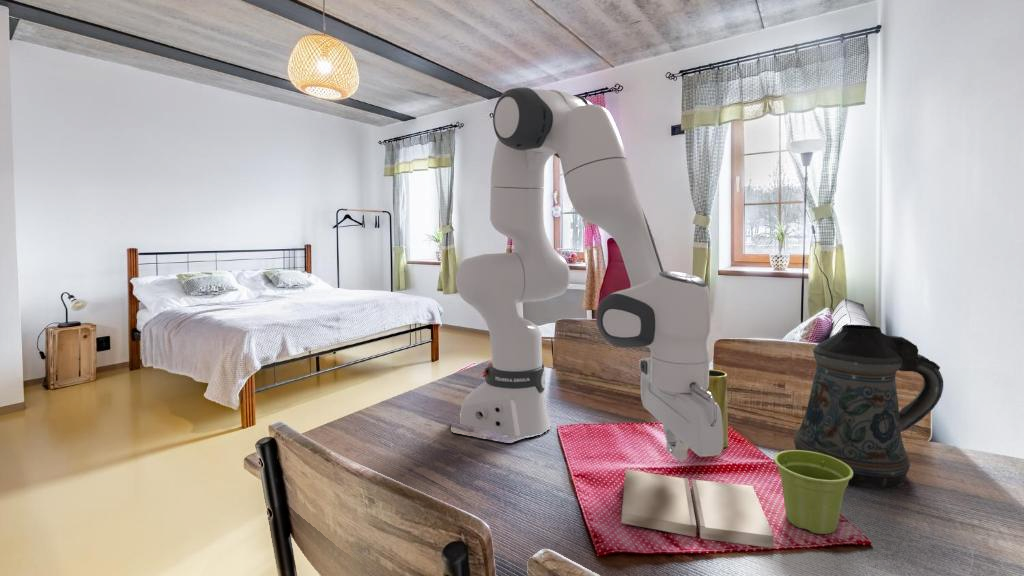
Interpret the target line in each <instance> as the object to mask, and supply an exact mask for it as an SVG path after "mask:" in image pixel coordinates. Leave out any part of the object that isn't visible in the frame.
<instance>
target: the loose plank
mask: <svg viewBox="0 0 1024 576" xmlns="http://www.w3.org/2000/svg"><path fill="white" fill-rule="evenodd" d="M624 474H625V475H624V486H623V495H622V496H623V497H622V499H623V500H622V509H621V520H620V521H621V524H624V525H629V526H637V527H642V528H647V529H651V530H657V531H662V532H667V533H673V534H678V535H683V536H689V537H694V538H696V536H697V527H698V526H697V519H696V516H695V515H696V513H695V508H694V502H693V496H692V490H691V487H690V482H689V478H687V477H684V478H683V477H676V476H670V475H664V474H657V473H650V472H647V471H646V472H645V471H641V470H640V471H638V470H633V469H625V472H624Z"/></svg>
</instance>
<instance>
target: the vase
mask: <svg viewBox="0 0 1024 576" xmlns="http://www.w3.org/2000/svg"><path fill="white" fill-rule="evenodd" d="M706 391H709V392H710V393H711V394H712V395H713V399H714V401H715V402H716V403H717V404H718V406H719V408H720V410H721V414H722V423H723V449H724V448H726V447H728V446H729V443H730V442H729V423H728V421H729V420H728V374H727V373H726V372H725V371H722V370H718V369H709V386H708V388H707V389H706Z"/></svg>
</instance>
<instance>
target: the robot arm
mask: <svg viewBox="0 0 1024 576" xmlns="http://www.w3.org/2000/svg"><path fill="white" fill-rule="evenodd" d="M495 103H496V104H495V106H494V109H493V110H494V111H493V114H492V115H493V116H492V124H493V125H492V126H493V129H494V133H495V136H496V138H497V140H496V143H495V147H494V151H493V152H494V153H493V157H492V164H491V172H490V174H491V175H490V197H489V199H490V205H489V206H490V207H489V211H490V212H489V216H490V217H489V219H490V223H491V225H492V227H493V228H494V229H495V230H496V231H497V232H498V233H500V235H501V234H502V235H503V236H505V237H507V238H509V239H511V240H512V243H513V249H514V250H513V252H505V253H504V252H501V253H483V254H480V255H475V256H471V257H468V258H465V259H463V261H462V262H461V263H460V264H459V266H458V268H457V271H456V273H455V285H456V289H457V293H458V294H459V296H460V297H461V298H462V299H463V301H464V302H465V303H467V304H468V305H470V306H471V307H473V308H474V310H476V311H477V312H478V313H479V315H480V316H481V317H482V318H483V320H484V322H485V324H486V326H487V329H488V332H489V339H490V347H491V355H492V356H491V361H490V362H489V363H488V364H487V367H485V368H484V371H482V378H484V379H485V381H483V382H482V383H481V384H480V385H478V386H477V387H475V389H473V391H471V392H470V393H469V394H468V395H466V397H465V398H464V399H463V401H462V404H461V407H460V413H459V415H460V424H463V425H468V426H473V427H477V428H483V429H487V430H491V431H494V432H497V433H500V435H508V437H506V438H502V437H499V438H502V439H506V440H513V439H517V438H520V437H524V436H532V435H536V434H540V433H543V432H545V431H547V430H548V429H549V428H550V426H551V427H552V423H551V420H550V416H549V414H548V413H549V412H548V408H547V404H546V397H545V389H546V371H545V364H544V363H543V345H542V344H543V343H542V341H543V340H542V332H541V329H540V328H539V327H538V325H537V324H535V323H533V321H531V320H529V319H527V318H524V317H522V316H520V315H519V312H518V309H517V304H518V303H521V304H522V303H532V302H543V301H547V300H550V299H554V298H557V297H559V296H560V297H561V296H562V295H564V294H565V293H566V291H567V290H568V288H569V286H570V281H571V269H570V265H569V264H568V262H567V261H566V259H565V258H564V257H563V256H562V255H561V254H560V252H557V251H556V249H555V248H554V247H553V245H552V244H551V242H550V240H549V238H548V236H547V232H546V228H545V223H544V222H545V220H544V193H545V192H544V189H545V187H544V186H545V168H546V167H545V166H546V164H547V162H548V161H549V159H550V158H551V157H552V156H553V155H554V156H555V157H557V158H558V159H559V160H560V164H561V169H562V174H563V178H564V183H565V188H566V192H567V195H568V198H569V201H570V203H571V205H572V207H573V209H574V211H575V212H576V214H578V215H579V217H581V218H582V219H584V220H585V221H587V222H588V223H591V224H593V225H595V226H597V227H598V228H600V229H602V230H603V231H604V232H605V233H607V234H608V235H610V237H611V238H612V239H613V240H614V241H615V243H616V245H617V246H618V248H619V253H620V254H621V257H622V260H623V263H624V267H625V270H626V274H627V275H628V276H627V277H628V279H629V283H630V287H629V288H625V289H621V290H618V291H617V290H616V291H614V292H612V293H610V294H608V295H606V296H605V297H603V298H602V299H601V301H600V302H599V303H598V306H597V309H596V314H595V320H596V321H595V322H596V326H597V329H598V331H599V334H600V335H601V337H602V338H603V339H604V340H605V342H607V343H608V344H609V345H612V346H614V347H617V348H642V347H645V348H649V350H650V357H645V358H643V357H642V358H640V359H639V360H638V369H639V371H640V372H641V373H640V399H641V402H642V406H643V408H644V409H646V411H647V412H649V414H650V415H652V416H653V417H654V418H655V419H656V420H658V421H659V422H660V423H661V424H662V429H663V432H664V433H663V434H664V437H665V441H666V447H665V448H666V450H667V452H668V453H670V454H671V455H672V456H673V458H674V459H675V460H677V462H679V461H686V460H687V459H688V450H689V449H690V450H691V451H692V452H693V453H695V454H696V455H697V456H698V457H712V456H719V455H720V454H721V453H722V452H723V450H724V448H723V423H722V414H721V410H720V408H719V406H718V404H717V403H716V402H715V401H714V399H713V395H712V394H711V393H710V392H709V391H706V389H707V388H708V386H709V370H710V362H711V361H710V358H711V357H710V351H709V346H708V342H709V337H710V335H711V332H712V303H711V295H710V290H709V286H708V285H707V283H706V281H705V280H704V279H702V278H701V277H699V276H697V275H695V274H692V273H687V272H682V271H674V270H666V271H665V270H664V268H663V266H662V265H663V264H662V262H661V259H660V256H659V253H658V249H657V246H656V243H655V240H654V237H653V234H652V231H651V228H650V225H649V223H648V219H647V217H646V214H645V213H644V210H643V208H642V205H641V202H640V200H639V197H638V195H637V191H636V188H635V185H634V182H633V177H632V173H631V169H630V166H629V162H628V158H627V154H626V150H625V147H624V143H623V141H622V137H621V135H620V133H619V132H620V131H619V130H618V128H617V126H616V122H615V121H614V118H613V117H612V114H611V113H610V111H609V110H607V109H608V108H607V109H606V108H605V107H604V106H602V105H600V104H595V103H594V104H593V103H592V102H591V101H590V100H588V99H586V98H585V97H583V96H581V95H576V94H571V93H569V92H564V91H561V90H555V89H537V88H536V89H535V88H534V89H532V88H529V87H524V86H523V87H515V88H510V89H508V90H506V91H504V92H502V94H501V95H500V97H498V99H497V102H495ZM550 429H551V428H550ZM501 433H502V434H501ZM498 436H499V435H498Z"/></svg>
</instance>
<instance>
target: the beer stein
mask: <svg viewBox="0 0 1024 576" xmlns="http://www.w3.org/2000/svg"><path fill="white" fill-rule="evenodd" d="M813 357H814V359H815V361H816V367H815V371H814V376H813V379H812V385H811V390H810V394H809V397H808V402H807V406H806V409H805V412H804V415H803V418H802V421H801V423H800V426H799V428H798V429H797V431H796V433H795V434H794V438H793V439H794V440H793V442H794V447H795V450H803V451H811V452H817V453H821V454H824V455H828V456H831V457H834V458H836V459H838V460H840V461H842V462H844V463H846V464H847V465H848V466H849V467H850V468H851V469H852V471H853V477H852V478H851V479H850V480H849V482H848V485H847V486H849V487H853V488H859V489H860V488H861V489H871V490H888V489H887V488H890V489H894V488H893V487H896V488H898V487H900V486H901V485H900V484H902V483H904V482H905V483H906V479H907V474H908V472H909V470H910V468H911V460H910V457H909V455H908V453H907V451H906V448H905V446H904V444H903V443H904V442H903V438H902V432H905V431H906V430H909V429H910V428H911V427H913V426H914V425H916V424H917V423H919V422H920V421H922V419H924V418H925V417H926V416H927V415H928V414H929V413H930V412H932V410H933V409H935V407H936V406H937V404H938V403H939V401H940V399H941V398H942V396H943V395H942V394H943V391H944V379H943V376H942V374H941V372H940V369H941V366H939V365H938V364H937V362H935V361H932V360H931V359H929V358H927V357H925V356H924V355H921V354H919V349H918V346H917V345H916V344H915V343H913V342H912V341H910V340H909V339H906V338H905V337H903V336H897V335H887V334H885V333H883V332H882V329H881V327H878V326H873V325H864V324H844V325H843V326H842V327H841V330H840V331H838V332H837V333H835V334H834V335H832V336H830V337H828V338H827V339H824V340H822V341H821V342H819V343H818V344H817V345H816V346H815V347H814V348H813ZM898 371H899V372H914V373H918V374H919V375H920V376H921V377H922V378H923V385H922V387H921V389H920V391H919V393H918V394H917V395H916V397H914V398H913V399H912V400H911V401H910V402H909V403H908V404H906V405H905V406H903V407H902V408H901V409H900V408H899V398H898V397H899V396H898V390H897V389H898V388H897V383H896V374H897V372H898ZM899 409H900V410H899ZM905 483H904V484H905ZM899 485H900V486H899ZM902 485H903V484H902ZM897 486H898V487H897Z"/></svg>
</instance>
